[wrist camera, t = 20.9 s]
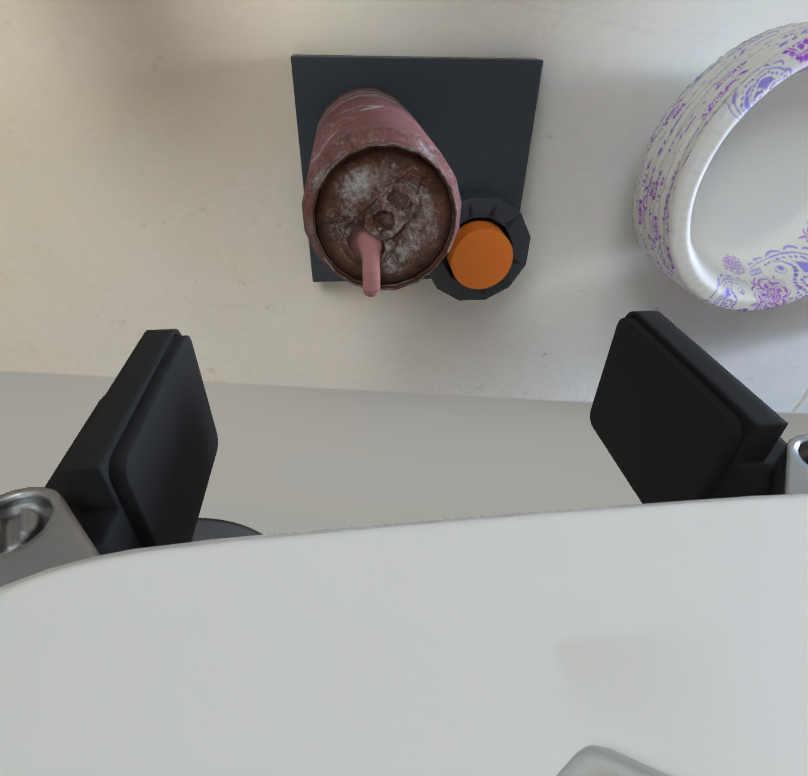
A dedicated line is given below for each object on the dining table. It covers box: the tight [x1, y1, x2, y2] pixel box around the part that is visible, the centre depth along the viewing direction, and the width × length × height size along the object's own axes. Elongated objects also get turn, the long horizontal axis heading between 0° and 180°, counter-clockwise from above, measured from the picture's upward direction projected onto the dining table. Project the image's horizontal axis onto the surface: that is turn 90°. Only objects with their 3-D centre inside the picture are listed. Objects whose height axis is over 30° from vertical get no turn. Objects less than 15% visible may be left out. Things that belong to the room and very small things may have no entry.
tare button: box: [447, 220, 513, 289], centre depth 32 cm, size 4×4×2 cm
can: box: [302, 88, 461, 297], centre depth 24 cm, size 6×6×14 cm
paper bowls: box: [633, 22, 808, 311], centre depth 30 cm, size 15×15×8 cm
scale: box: [291, 55, 543, 300], centre depth 31 cm, size 14×14×3 cm
